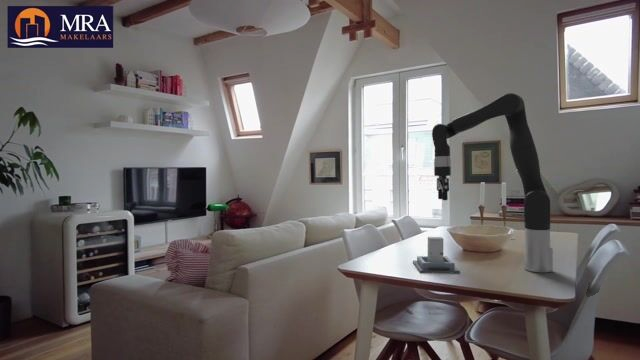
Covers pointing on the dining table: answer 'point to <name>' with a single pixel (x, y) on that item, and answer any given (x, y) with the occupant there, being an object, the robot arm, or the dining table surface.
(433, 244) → the skincare box
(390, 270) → the dining table surface
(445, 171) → the robot arm
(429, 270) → the tray
